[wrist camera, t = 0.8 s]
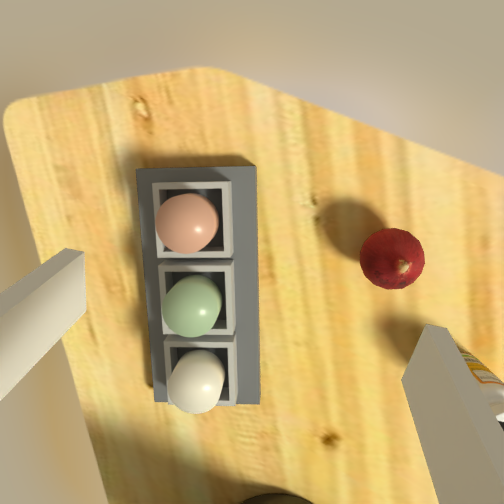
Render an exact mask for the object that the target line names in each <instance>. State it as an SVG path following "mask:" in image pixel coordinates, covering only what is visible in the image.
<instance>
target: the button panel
mask: <svg viewBox="0 0 504 504" xmlns="http://www.w3.org/2000/svg"><path fill="white" fill-rule="evenodd" d="M136 178H137V190H138V203H139V215H140V227H141V240H142V252H143V264H144V277H145V289H146V301H147V314H148V326H149V339H150V351H151V363H152V376H153V388H154V400H155V402H168V404H172V405H174V404H173V402H172V401H171V399H170V397H169V395H168V390H167V385H168V380H169V378H170V376H171V374H172V372H173V370H174V369H175V367H176V365H177V363H178V361H179V360H180V358H181V357H182V356H183V355H184V354H186V353H187V352H189V351H192V350H206V351H209V352H211V353H213V354H214V355H216V356H217V357H218V358H219V359H220V360H221V362H222V364H223V366H224V369H225V379H224V383H223V387H222V390H221V394H220V398H219V400H218V402H217V404H216V405H215V406H235V405H236V404H260V395H261V392H260V336H259V280H258V224H257V168H256V166H235V167H190V168H146V169H136ZM187 193H196V194H200V195H203V196H205V197H206V198H208V199H209V200H210V201H211V202H212V203H213V204H214V206H215V207H216V209H217V211H218V215H219V228H218V231H217V233H216V235H215V236H214V238H213V239H212V240H211V241H210V242H209V243H208V244H207V245H206V246H205V247H204V248H202V249H201V250H199V251H197V252H194V253H190V254H182V253H177V252H174V251H172V250H170V249H169V248H168V247H166V246H165V245H164V244H163V243H162V241H161V240H160V238H159V237H158V234H157V231H156V226H155V220H156V215H157V212H158V210H159V208H160V207H161V205H162V204H163V203H164V202H165V201H167V200H168V199H170V198H172V197H174V196H178V195H183V194H187ZM189 275H202V276H205V277H207V278H209V279H211V280H212V281H213V282H214V283H215V284H216V285H217V286H218V288H219V289H220V292H221V295H222V307H221V310H220V312H219V315H218V317H217V319H216V322H215V324H214V325H213V327H212V328H211V329H210V330H209V331H208V332H207V333H205V334H204V335H201V336H198V337H184V336H181V335H178V334H176V333H175V332H173V331H172V330H171V329H170V328H169V327H168V326H167V325H166V323H165V321H164V319H163V316H162V303H163V300H164V297H165V296H166V294H167V293H168V292H169V291H170V290H171V289H172V288H173V287H174V285H175V284H176V283H177V282H178V281H179V280H181V279H182V278H184V277H186V276H189Z"/></svg>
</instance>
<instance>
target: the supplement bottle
mask: <svg viewBox="0 0 504 504" xmlns="http://www.w3.org/2000/svg"><path fill="white" fill-rule="evenodd" d="M461 355H462V357H463V358H464V360H465V362H466V364H467V366H468V368H469V369H470V371H471V373H472V375H473V377H474V378H475V380H476V382H477V384H478V386H479V387H480V389H481V391H482V393H483V395H484V397H485V398H486V400H487V402H488V404H489V406H490V407H491V409H492V411H493V413H494V415H495V416H496V418H497V420H498V421H502V422H504V383H503V382H502V381H501V380H500V379H499V378H498V377H496V376H495V375H494V374H493V373H492V372H491V371H490V370H489V369H488V368H487V367H486V366H485V365H484V364H483V363H482V362H481V361H479V360H478V359H477V358H475V357H474V356H472V355H469V354H465V353H461Z"/></svg>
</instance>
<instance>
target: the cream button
mask: <svg viewBox="0 0 504 504" xmlns="http://www.w3.org/2000/svg"><path fill="white" fill-rule="evenodd" d="M224 379H225V369H224V366H223V364H222V362H221V360H220V359H219V358H218V357H217V356H216V355H214V354H213V353H211V352H209V351H206V350H192V351H189V352H187V353H186V354H184V355H183V356H182V357H181V358H180V360H179V361H178V363H177V365H176V367H175V369H174V370H173V372H172V374H171V376H170V378H169V380H168V385H167V390H168V395H169V397H170V399H171V401H172V402H173V404H174V405H175V406H176V407H178V408H179V409H181V410H182V411H185V412H187V413H192V414H200V413H204V412H207V411H209V410H210V409H212V408H213V407H214V406H215V405H216V404H217V402H218V400H219V398H220V394H221V390H222V387H223V383H224Z"/></svg>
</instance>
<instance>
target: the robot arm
mask: <svg viewBox="0 0 504 504" xmlns="http://www.w3.org/2000/svg"><path fill="white" fill-rule="evenodd" d="M85 312H86V287H85V258H84V252H82V251H77V250H72V249H68V248H65V249H63V250H62V251H60V252H59V253H58V254H56V255H55V256H53V257H52V258H50V259H49V260H48V261H46V262H45V263H43V264H42V265H40V266H39V267H38V268H36V269H35V270H33V271H32V272H31V273H29V274H28V275H26V276H25V277H23V278H22V279H20V280H19V281H18V282H16V283H15V284H13V285H12V286H10V287H9V288H8V289H6V290H5V291H3V292H2V293H1V294H0V401H1V400H2V399H3V398H4V396H6V395H7V394H8V393H9V391H10V390H11V389H12V388H13V387H14V386H15V385H16V384H17V383H18V382H19V381H20V380H21V379H22V378H23V377H24V376H25V375H26V374H27V373H28V371H29V370H30V369H31V368H32V367H33V366H34V365H35V364H36V363H37V362H38V361H39V360H40V359H41V358H42V357H43V356H44V355H45V354H46V352H48V351H49V349H50V348H51V347H52V346H53V345H54V344H55V343H56V342H57V341H58V340H59V339H60V338H61V337H62V336H63V335H64V334H65V333H66V332H67V331H68V330H69V328H70V327H71V326H72V325H73V324H74V323H75V322H76V321H77V320H78V319H79V318H80V317H81V316H82V315H83V314H84V313H85ZM401 381H402V384H403V387H404V390H405V394H406V397H407V400H408V404H409V407H410V410H411V413H412V417H413V420H414V423H415V426H416V430H417V433H418V436H419V439H420V443H421V446H422V449H423V452H424V456H425V459H426V462H427V465H428V469H429V472H430V475H431V478H432V482H433V485H434V488H435V491H436V495H437V498H438V501H439V504H504V422H502V421H498V420H497V418H496V416H495V415H494V413H493V411H492V409H491V407H490V406H489V404H488V402H487V400H486V398H485V397H484V395H483V393H482V391H481V389H480V387H479V386H478V384H477V382H476V380H475V378H474V377H473V375H472V373H471V371H470V369H469V368H468V366H467V364H466V362H465V360H464V358H463V357H462V355H461V353H460V351H459V349H458V348H457V346H456V344H455V342H454V340H453V339H452V337H451V335H450V333H449V331H448V330H447V328H443V327H438V326H433V325H429V324H426V325H425V327H424V329H423V332H422V334H421V336H420V338H419V341H418V343H417V345H416V347H415V350H414V352H413V354H412V357H411V359H410V361H409V363H408V366H407V368H406V370H405V372H404V375H403V377H402V379H401ZM241 504H311V503H310V502H308V501H306V500H303V499H301V498H298V497H294V496H290V495H284V494H267V495H261V496H257V497H254V498H251V499H249V500H246V501H244V502H243V503H241Z"/></svg>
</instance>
